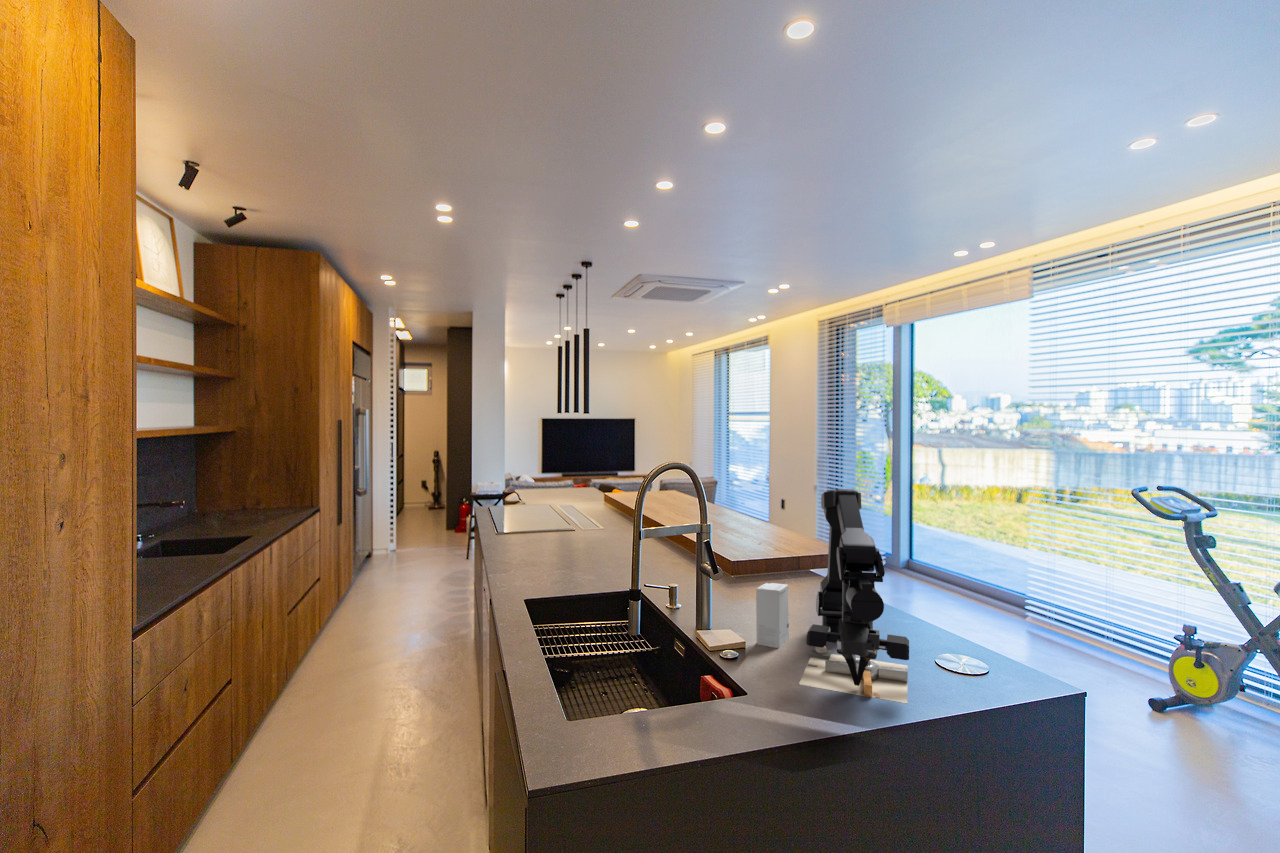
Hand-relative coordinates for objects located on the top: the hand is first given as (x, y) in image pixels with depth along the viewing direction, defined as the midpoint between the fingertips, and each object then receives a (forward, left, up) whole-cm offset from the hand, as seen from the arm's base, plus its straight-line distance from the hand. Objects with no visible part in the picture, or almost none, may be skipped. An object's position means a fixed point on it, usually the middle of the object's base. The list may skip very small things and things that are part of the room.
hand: (856, 684), depth 118 cm
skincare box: (-21, -21, -3) cm, 30 cm away
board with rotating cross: (-8, -1, -3) cm, 8 cm away
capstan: (-7, +1, -1) cm, 7 cm away
